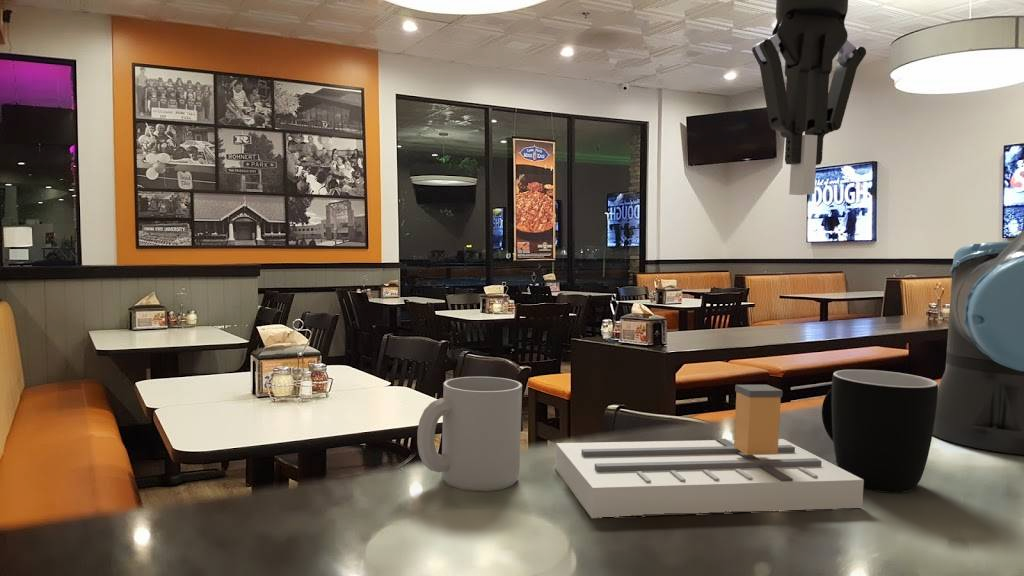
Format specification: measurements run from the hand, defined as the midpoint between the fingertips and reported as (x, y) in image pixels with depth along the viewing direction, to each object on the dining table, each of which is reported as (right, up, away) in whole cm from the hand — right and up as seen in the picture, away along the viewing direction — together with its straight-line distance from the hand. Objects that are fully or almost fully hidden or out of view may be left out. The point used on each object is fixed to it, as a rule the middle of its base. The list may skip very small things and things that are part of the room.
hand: (801, 193), depth 84 cm
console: (-16, -29, -16) cm, 37 cm away
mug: (+2, -30, -12) cm, 32 cm away
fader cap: (-11, -26, -16) cm, 32 cm away
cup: (-37, -29, -17) cm, 50 cm away
